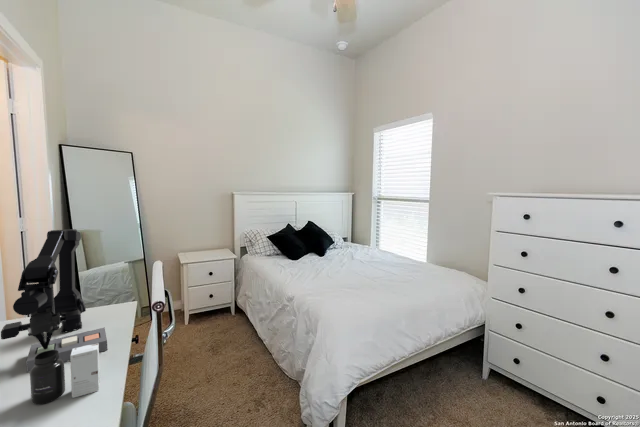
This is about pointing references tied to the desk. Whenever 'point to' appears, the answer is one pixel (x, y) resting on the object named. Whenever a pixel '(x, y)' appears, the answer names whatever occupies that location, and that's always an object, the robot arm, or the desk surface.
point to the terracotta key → (91, 337)
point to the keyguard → (66, 351)
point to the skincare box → (85, 370)
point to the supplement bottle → (47, 378)
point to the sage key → (50, 347)
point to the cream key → (69, 341)
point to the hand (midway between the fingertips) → (45, 348)
